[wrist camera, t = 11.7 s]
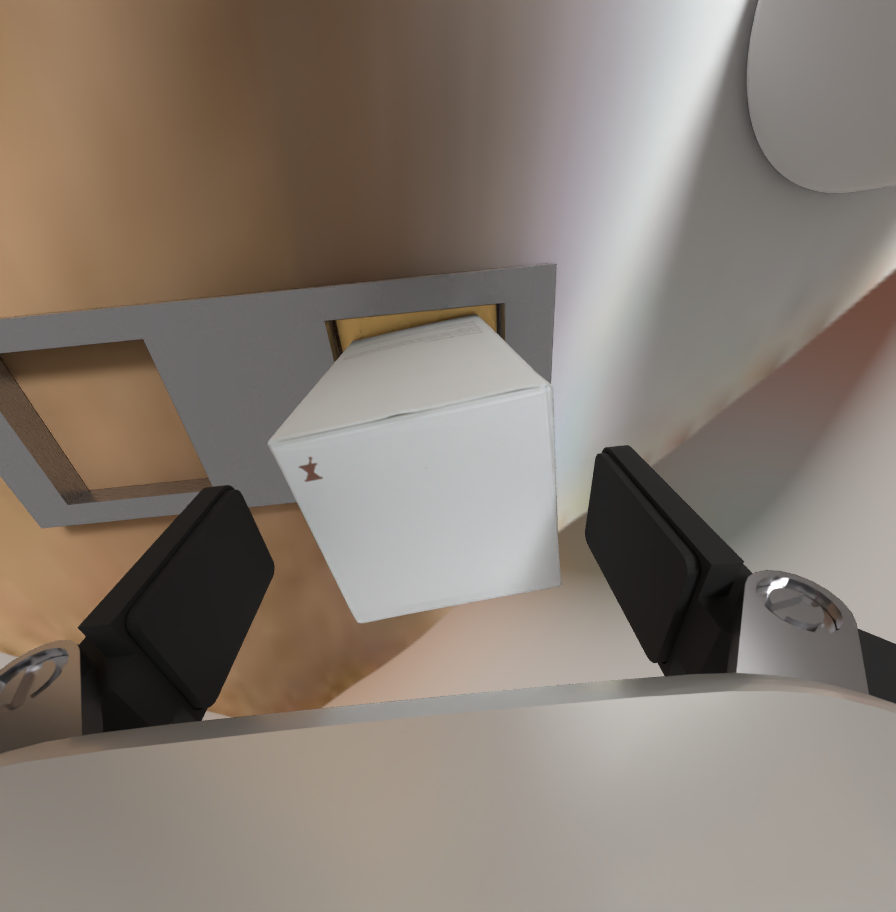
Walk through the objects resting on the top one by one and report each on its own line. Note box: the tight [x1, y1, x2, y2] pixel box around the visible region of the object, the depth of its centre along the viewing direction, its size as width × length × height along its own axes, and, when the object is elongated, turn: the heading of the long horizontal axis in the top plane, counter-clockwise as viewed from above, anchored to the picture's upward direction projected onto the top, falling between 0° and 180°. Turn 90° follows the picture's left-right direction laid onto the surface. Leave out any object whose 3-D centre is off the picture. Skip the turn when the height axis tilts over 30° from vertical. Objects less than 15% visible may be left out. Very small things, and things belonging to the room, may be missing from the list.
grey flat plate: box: [0, 263, 557, 528], centre depth 21 cm, size 12×32×2 cm, turn 95°
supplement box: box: [267, 314, 561, 623], centre depth 16 cm, size 7×7×13 cm
